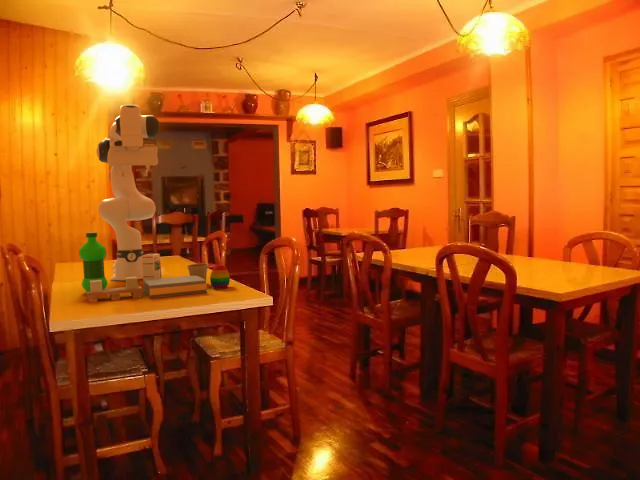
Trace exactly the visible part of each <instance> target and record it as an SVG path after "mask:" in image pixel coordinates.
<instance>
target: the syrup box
mask: <svg viewBox="0 0 640 480" xmlns="http://www.w3.org/2000/svg"><path fill="white" fill-rule="evenodd" d="M160 254H161V253H147V254H143V255H142V270H143V279H142V280H149V279H160V278H162V266H161V255H160ZM142 282H143V281H142ZM143 285H144V282H143Z"/></svg>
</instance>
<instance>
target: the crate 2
mask: <svg viewBox="0 0 640 480" xmlns="http://www.w3.org/2000/svg"><path fill="white" fill-rule="evenodd" d="M138 281H139V279H137V277H126V280H125V287H126V288H127V289H133V288H138V286H139V283H138Z"/></svg>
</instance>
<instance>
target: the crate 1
mask: <svg viewBox="0 0 640 480" xmlns="http://www.w3.org/2000/svg"><path fill="white" fill-rule="evenodd" d="M90 290H91V293H92V292H102V281H101V280H92V281H90Z"/></svg>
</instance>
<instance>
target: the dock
mask: <svg viewBox="0 0 640 480" xmlns="http://www.w3.org/2000/svg"><path fill="white" fill-rule="evenodd" d="M142 280H143V279H142ZM142 282H144V284H143V292H144V294H145V296H147V297H148V298H149V299H155V298H156V299H158V298H159V299H160V298H165V297H166V298H167V297H177V296H185V295H197V294H204V293H207V290H208V286H207V279H206V280H204V279H203V278H201V277H199V276H197V275H194V276H190V275H185V276H174V277H173V276H172V277H163V278H162V277H161V278H160V279H149V280H143V281H142Z"/></svg>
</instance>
